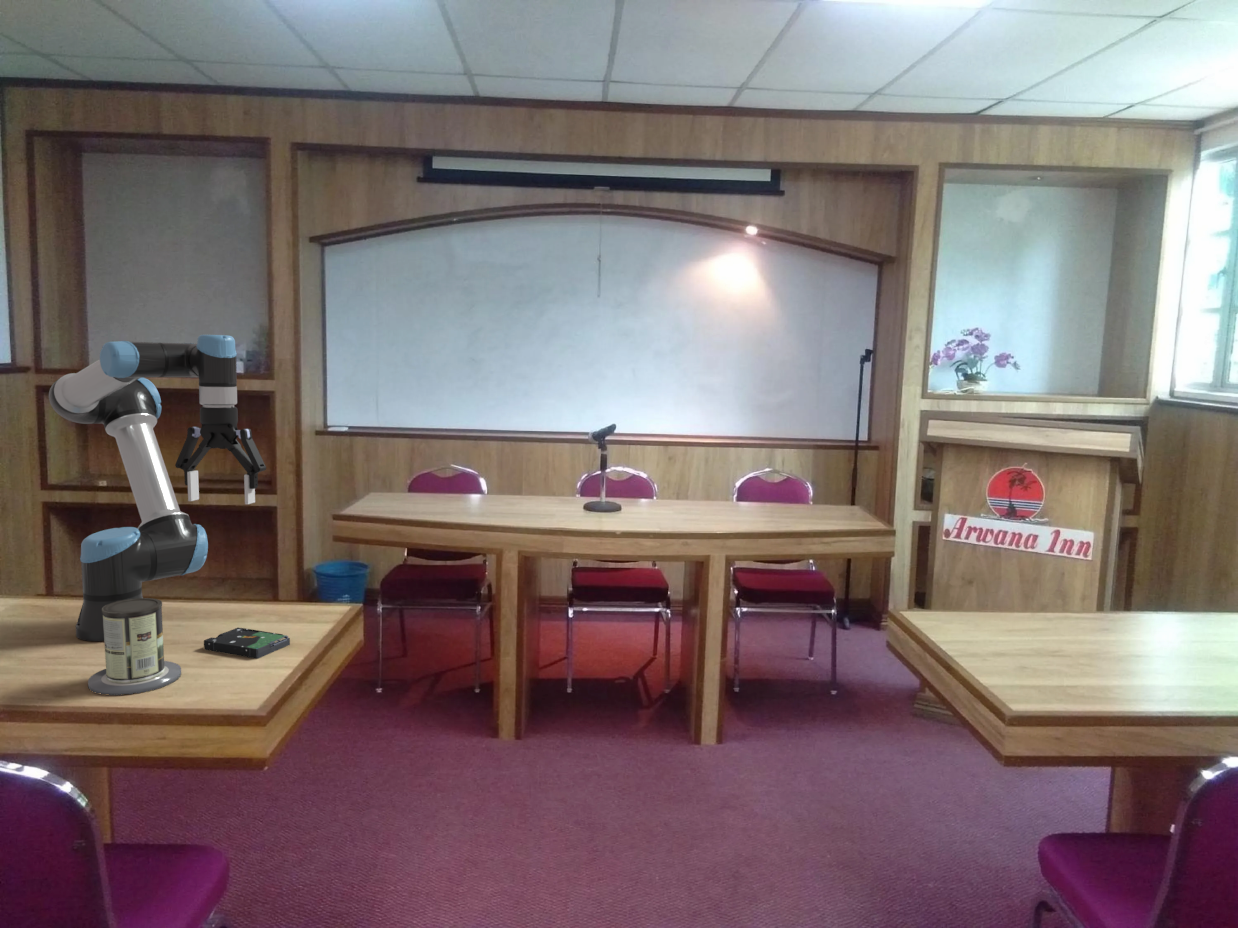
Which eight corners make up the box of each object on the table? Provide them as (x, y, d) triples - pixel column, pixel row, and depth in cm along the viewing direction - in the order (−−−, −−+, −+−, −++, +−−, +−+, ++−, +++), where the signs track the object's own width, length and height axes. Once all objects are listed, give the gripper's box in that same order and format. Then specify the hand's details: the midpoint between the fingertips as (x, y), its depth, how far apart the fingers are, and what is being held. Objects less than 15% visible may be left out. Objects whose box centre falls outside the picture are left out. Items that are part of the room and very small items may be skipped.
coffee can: (133, 662, 174) (130, 595, 172) (176, 667, 172) (174, 600, 170) (92, 680, 164) (88, 609, 162) (137, 686, 162) (134, 614, 160)
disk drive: (202, 652, 185) (258, 661, 181) (202, 640, 185) (257, 648, 181) (237, 638, 195) (291, 645, 191) (237, 626, 195) (290, 633, 190)
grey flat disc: (67, 691, 161) (67, 685, 161) (128, 662, 177) (128, 657, 177) (144, 698, 159) (143, 692, 159) (198, 668, 175) (198, 663, 174)
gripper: (281, 407, 187) (283, 501, 190) (178, 403, 191) (181, 496, 194) (261, 408, 180) (264, 507, 183) (155, 404, 184) (159, 501, 186)
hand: (221, 501), depth 188 cm, fingers open, 13 cm apart
